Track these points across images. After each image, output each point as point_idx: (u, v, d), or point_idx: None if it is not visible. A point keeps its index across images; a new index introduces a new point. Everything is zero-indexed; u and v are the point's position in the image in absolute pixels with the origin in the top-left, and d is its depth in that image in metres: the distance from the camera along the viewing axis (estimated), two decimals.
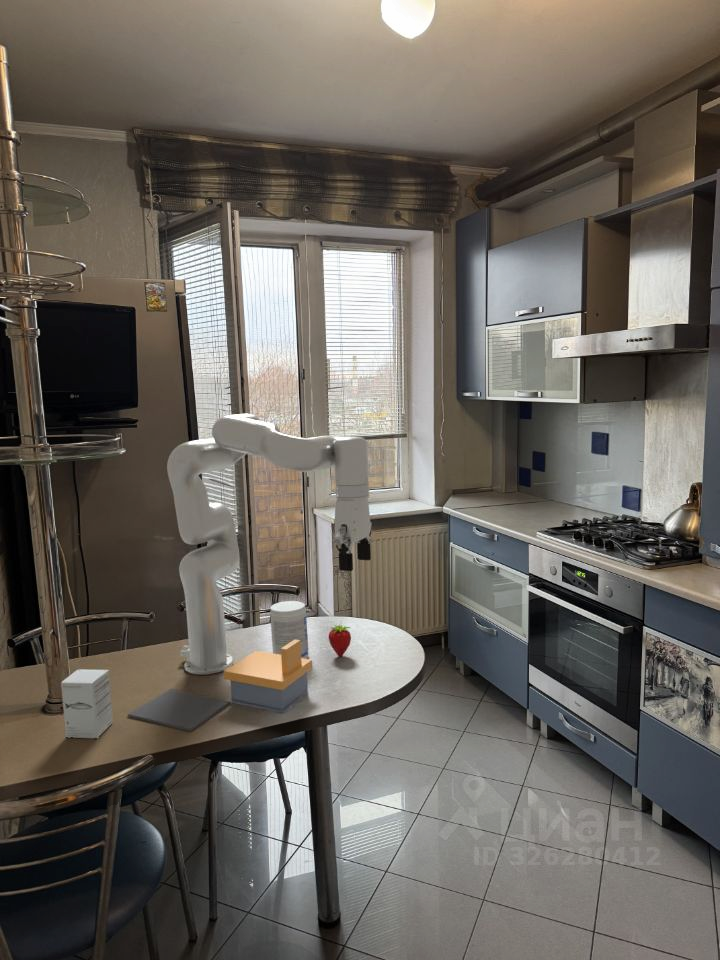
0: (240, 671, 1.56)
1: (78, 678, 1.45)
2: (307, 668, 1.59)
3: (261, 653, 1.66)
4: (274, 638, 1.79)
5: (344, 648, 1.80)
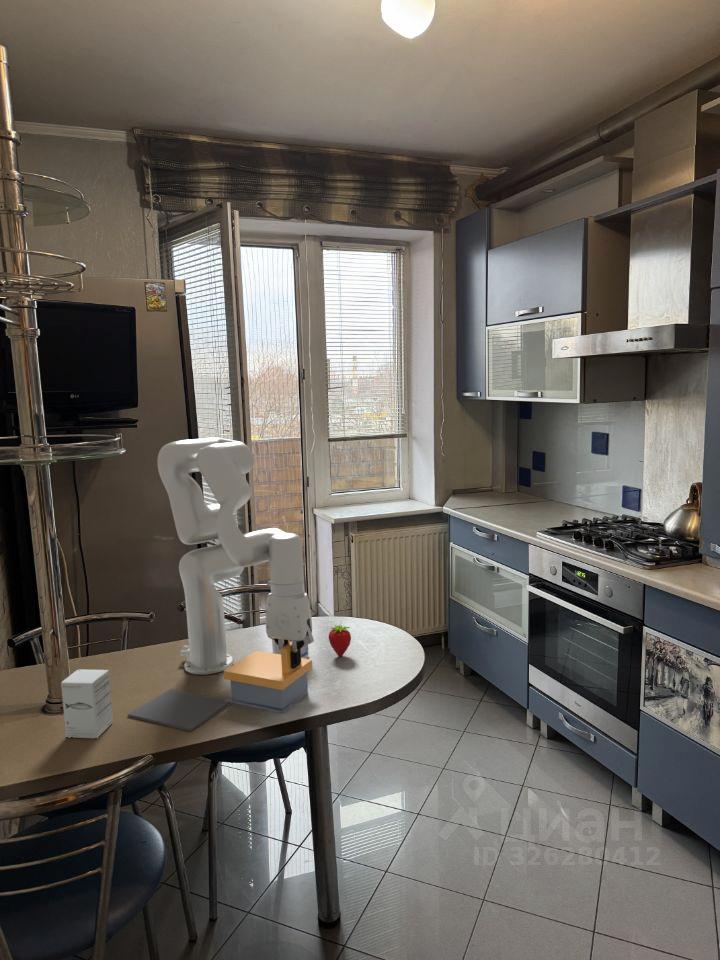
0: (240, 671, 1.56)
1: (78, 678, 1.45)
2: (307, 668, 1.59)
3: (261, 653, 1.66)
4: None
5: (344, 648, 1.80)
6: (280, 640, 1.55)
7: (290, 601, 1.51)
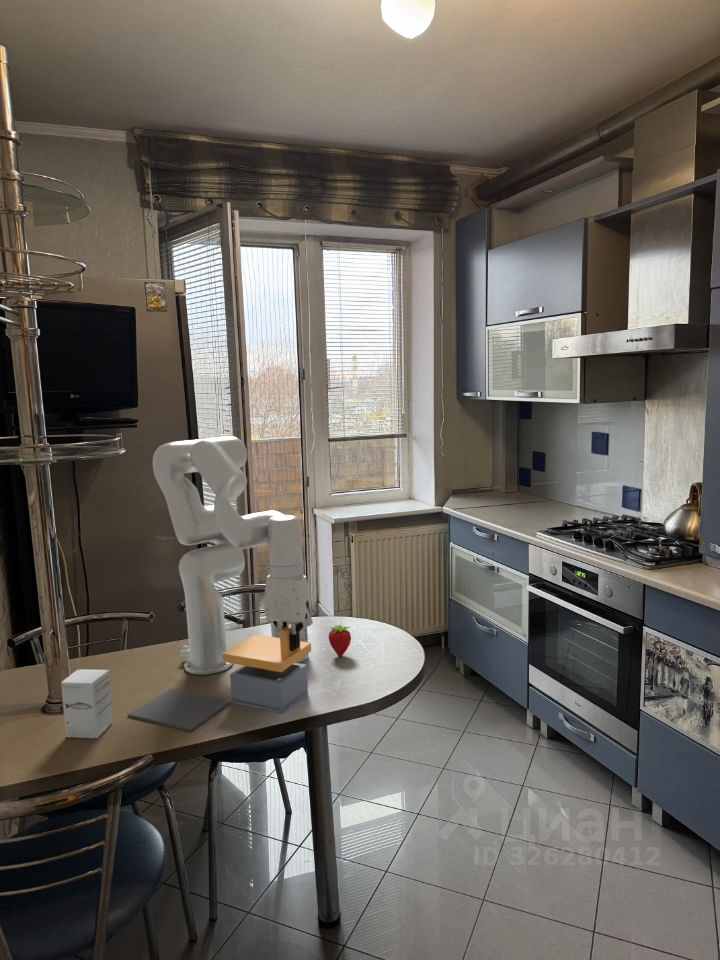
0: (239, 653, 1.56)
1: (78, 677, 1.45)
2: (306, 651, 1.59)
3: (260, 636, 1.66)
4: None
5: (344, 648, 1.80)
6: (279, 622, 1.54)
7: (289, 583, 1.50)
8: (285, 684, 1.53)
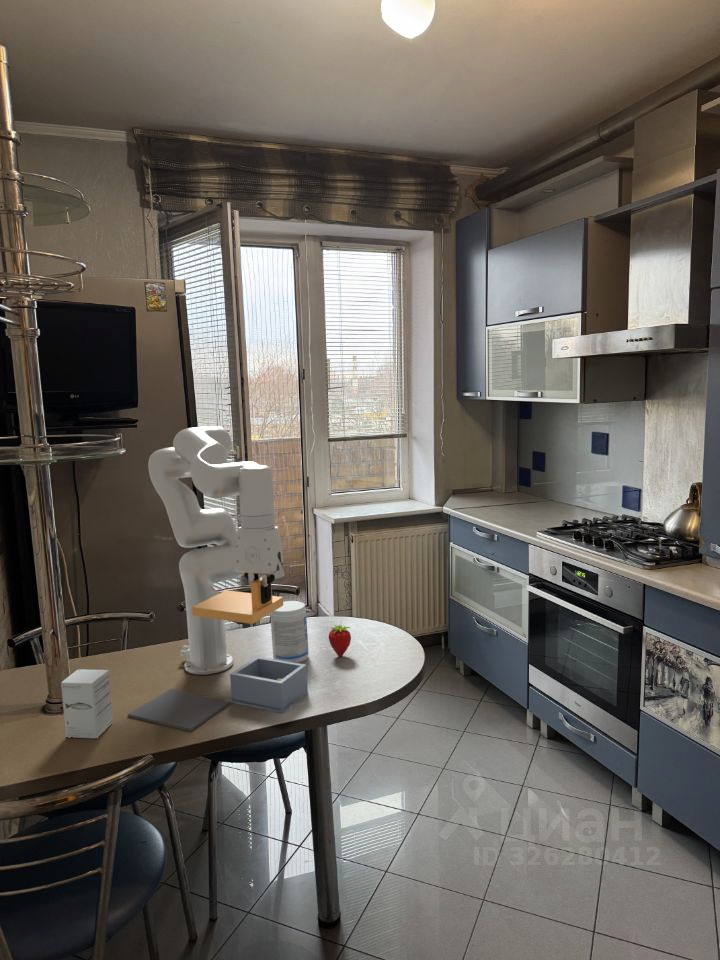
0: (209, 607, 1.53)
1: (78, 678, 1.45)
2: (278, 605, 1.56)
3: (231, 592, 1.63)
4: (274, 638, 1.79)
5: (344, 648, 1.80)
6: (250, 575, 1.52)
7: (260, 533, 1.47)
8: (285, 684, 1.53)
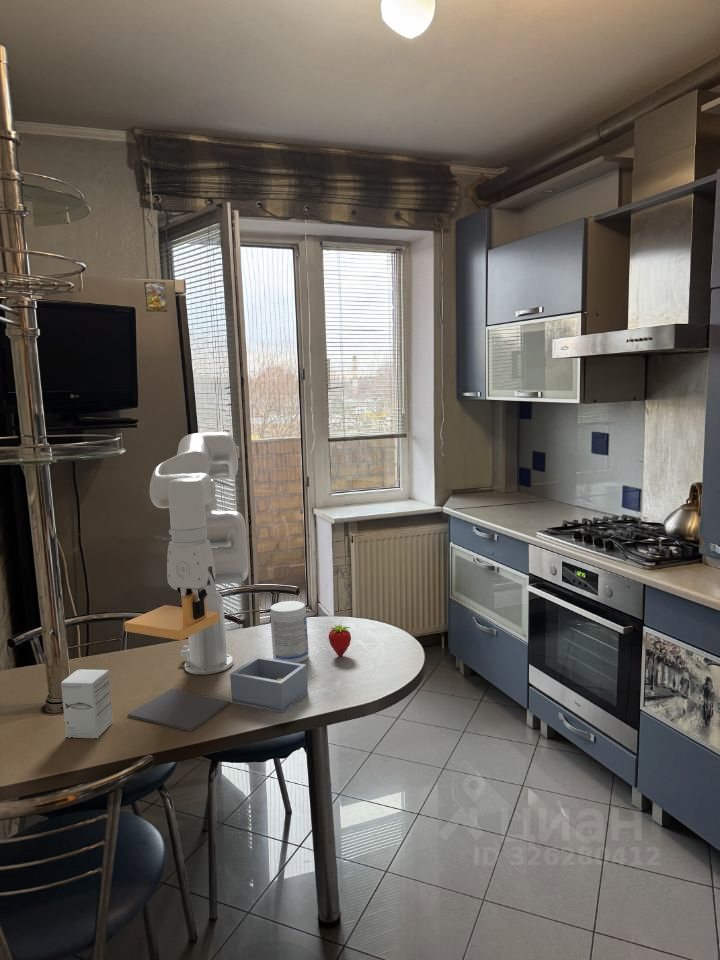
0: (141, 622, 1.50)
1: (78, 678, 1.45)
2: (213, 620, 1.53)
3: (169, 607, 1.60)
4: (274, 638, 1.79)
5: (344, 648, 1.80)
6: (182, 590, 1.48)
7: (190, 547, 1.44)
8: (285, 684, 1.53)
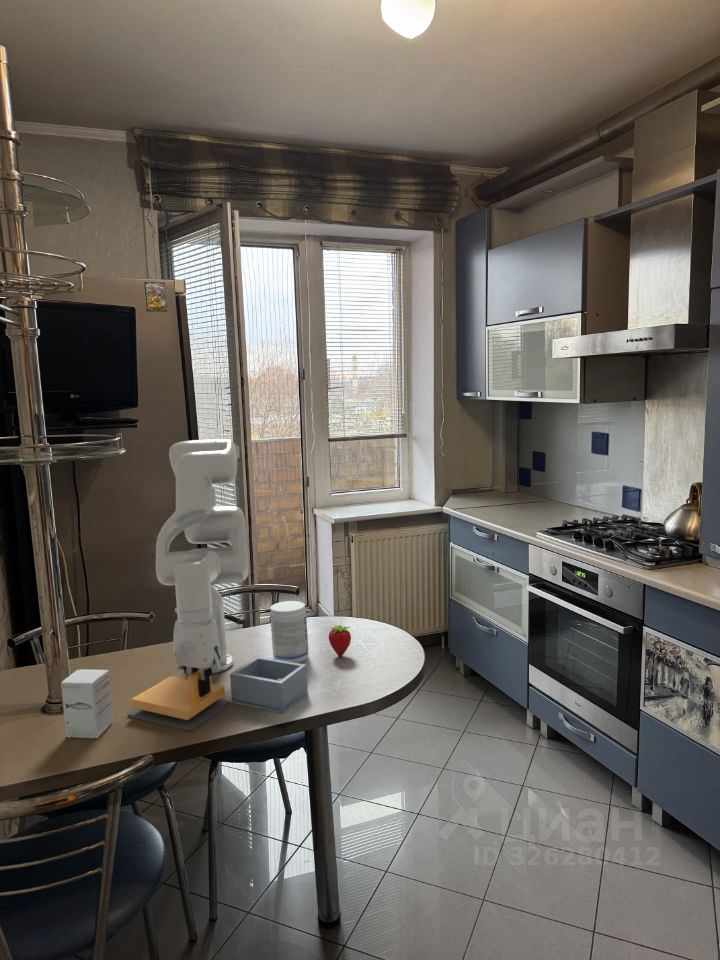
0: (148, 699, 1.52)
1: (78, 678, 1.45)
2: (218, 695, 1.56)
3: (175, 679, 1.62)
4: (274, 638, 1.79)
5: (344, 648, 1.80)
6: (188, 667, 1.51)
7: (196, 628, 1.47)
8: (285, 684, 1.53)
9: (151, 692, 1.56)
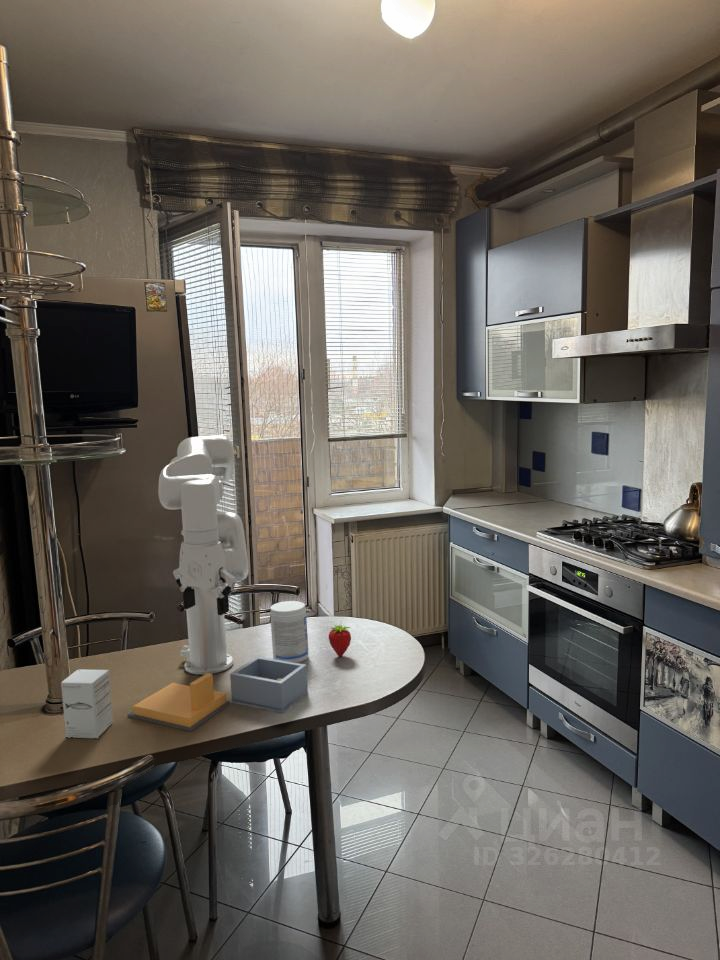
0: (150, 706, 1.52)
1: (78, 678, 1.45)
2: (220, 702, 1.56)
3: (177, 685, 1.62)
4: (274, 638, 1.79)
5: (344, 648, 1.80)
6: None
7: (201, 549, 1.47)
8: (285, 684, 1.53)
9: (153, 699, 1.56)
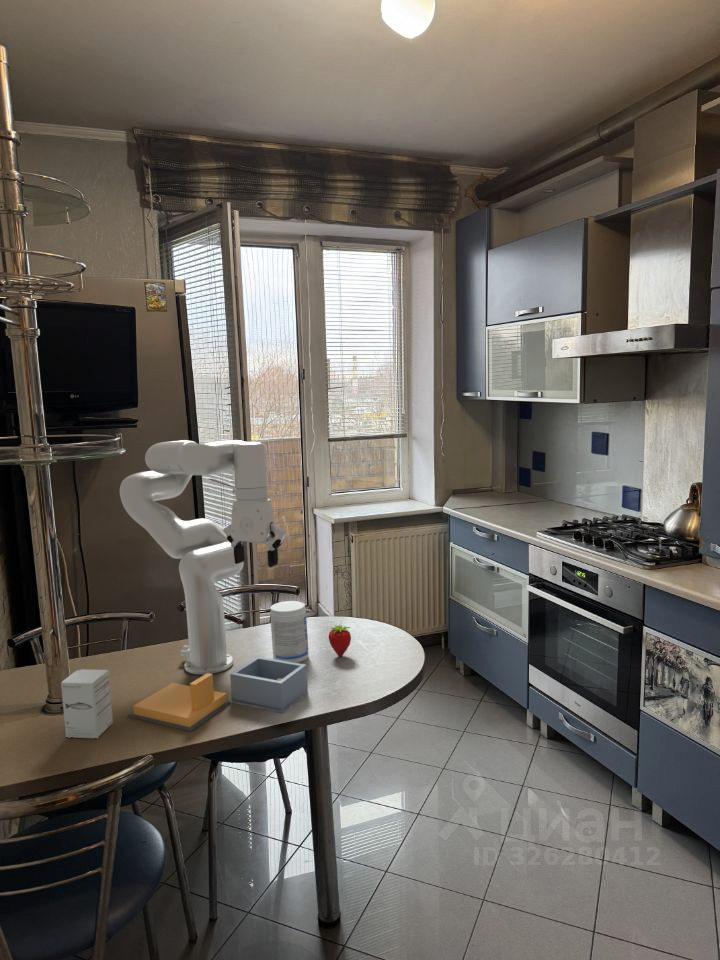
0: (150, 706, 1.52)
1: (78, 678, 1.45)
2: (220, 702, 1.56)
3: (177, 685, 1.62)
4: (274, 638, 1.79)
5: (344, 648, 1.80)
6: None
7: (253, 505, 1.59)
8: (285, 684, 1.53)
9: (153, 699, 1.56)
